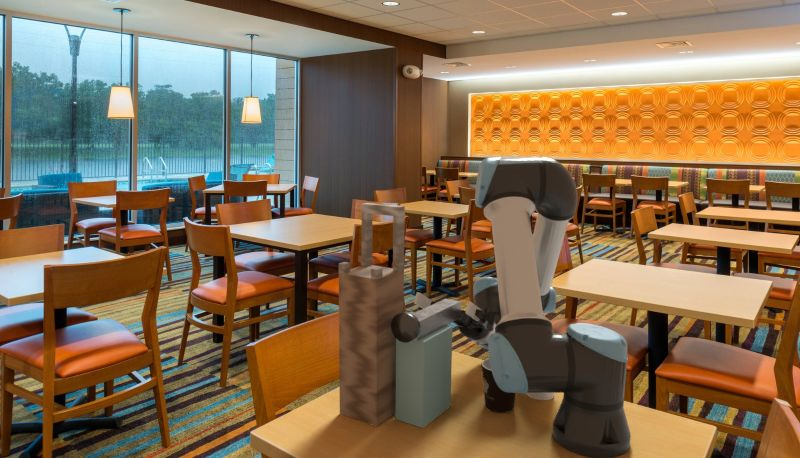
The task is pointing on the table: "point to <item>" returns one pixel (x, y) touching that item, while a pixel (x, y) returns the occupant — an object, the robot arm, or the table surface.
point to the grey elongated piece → (425, 320)
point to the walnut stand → (370, 324)
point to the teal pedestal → (424, 377)
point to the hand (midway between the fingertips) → (441, 302)
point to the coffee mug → (495, 392)
